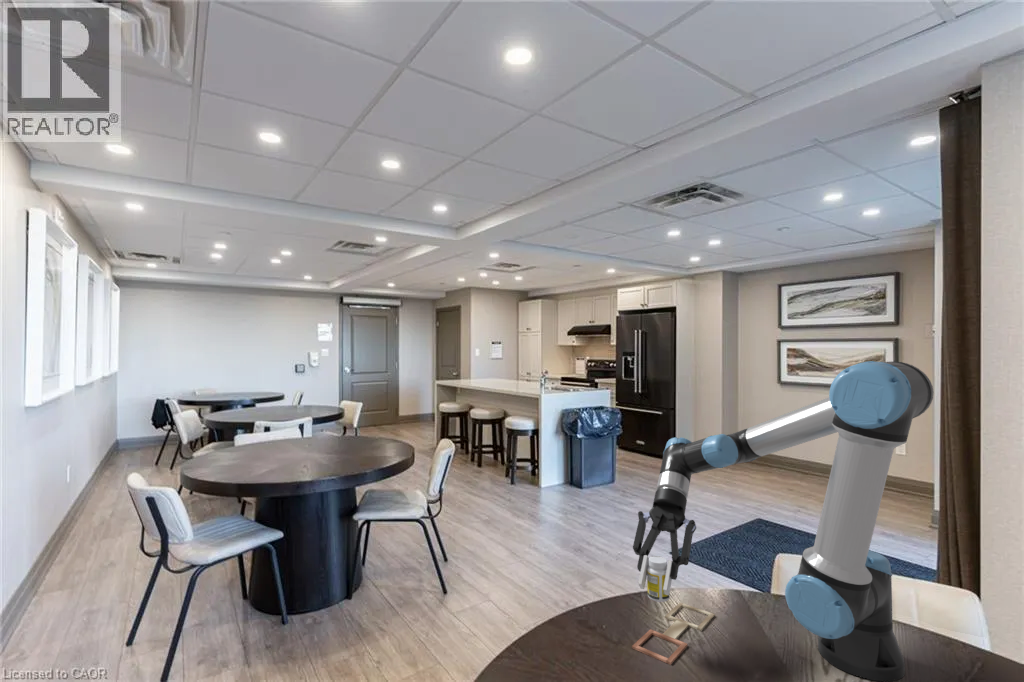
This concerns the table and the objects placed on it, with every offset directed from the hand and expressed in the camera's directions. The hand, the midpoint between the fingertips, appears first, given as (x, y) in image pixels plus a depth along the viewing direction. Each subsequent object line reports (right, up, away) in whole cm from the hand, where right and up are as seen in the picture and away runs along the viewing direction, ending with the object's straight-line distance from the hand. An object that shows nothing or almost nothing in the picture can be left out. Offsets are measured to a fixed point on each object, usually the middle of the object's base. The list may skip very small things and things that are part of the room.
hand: (653, 589), depth 108 cm
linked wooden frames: (+8, -14, +9) cm, 19 cm away
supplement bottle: (+2, -4, +3) cm, 5 cm away
